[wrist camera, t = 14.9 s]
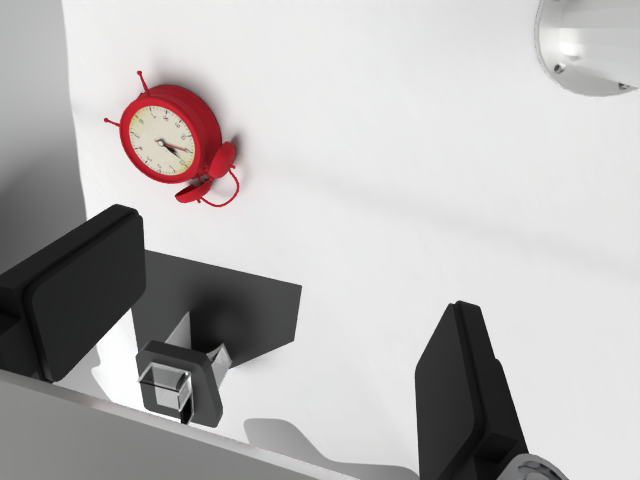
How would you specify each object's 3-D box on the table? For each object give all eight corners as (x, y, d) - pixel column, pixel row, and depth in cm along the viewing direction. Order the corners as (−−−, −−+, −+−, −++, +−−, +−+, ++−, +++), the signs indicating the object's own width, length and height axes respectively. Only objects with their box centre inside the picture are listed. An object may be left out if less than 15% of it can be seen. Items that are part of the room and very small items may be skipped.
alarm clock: (138, 55, 35) (237, 181, 36) (181, 62, 41) (266, 171, 42) (90, 128, 40) (178, 237, 41) (134, 125, 45) (211, 222, 46)
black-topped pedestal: (283, 411, 64) (259, 493, 53) (142, 374, 66) (89, 446, 55) (302, 285, 50) (273, 361, 38) (121, 243, 52) (43, 304, 40)
